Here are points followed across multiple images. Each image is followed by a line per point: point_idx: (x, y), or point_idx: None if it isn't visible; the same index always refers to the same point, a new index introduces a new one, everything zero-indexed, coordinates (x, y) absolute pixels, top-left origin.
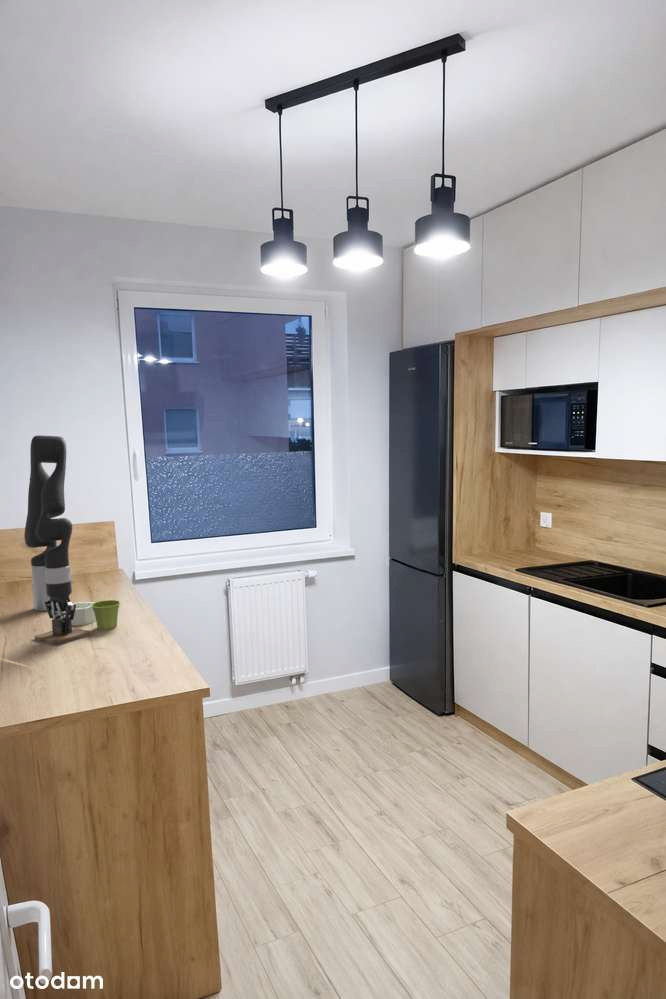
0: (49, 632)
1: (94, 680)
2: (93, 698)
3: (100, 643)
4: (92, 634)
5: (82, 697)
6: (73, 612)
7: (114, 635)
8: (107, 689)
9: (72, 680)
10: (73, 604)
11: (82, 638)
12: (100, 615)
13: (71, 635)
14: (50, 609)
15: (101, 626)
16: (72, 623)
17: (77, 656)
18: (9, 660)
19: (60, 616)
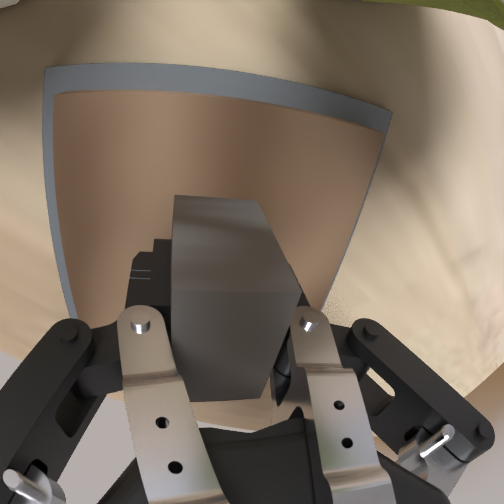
0: (86, 275)
1: (478, 360)
2: (480, 376)
3: (460, 212)
4: (379, 118)
5: (469, 384)
6: (432, 388)
7: (472, 86)
8: (493, 359)
9: (448, 380)
10: (478, 454)
11: (362, 205)
12: (472, 15)
13: (313, 256)
14: (64, 449)
15: (387, 2)
16: (4, 2)
17: (425, 332)
18: (232, 426)
19: (276, 410)
